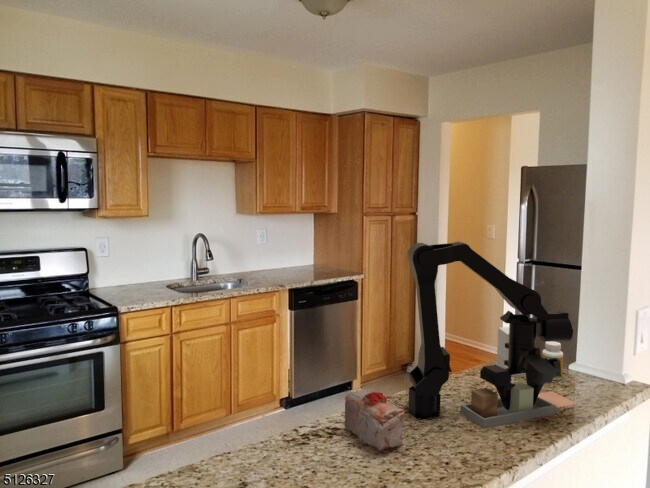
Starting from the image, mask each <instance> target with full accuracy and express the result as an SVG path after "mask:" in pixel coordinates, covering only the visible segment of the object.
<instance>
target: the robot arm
mask: <svg viewBox="0 0 650 488" xmlns="http://www.w3.org/2000/svg"><path fill="white" fill-rule="evenodd" d="M406 257H407V260H408V264H409V267H410V270H411V273H412V276H413V277H412V278H413V279H414V283H415V289H416V298H417V300H416V301H417V309H418V320H419V330H420V331H419V332H420V347H419V350H418V359H417V360H418V361H417V365H416V366H415V367H414V368H412V370H410V371H409V372H408V374H407V375H408V378H409V381H410V383H411V384H412V386H410V387H408V407H406V408H404V411H406V412H407V413H409V414H410V416H411V415H412V416H413V417H414V418H415V419H417V420H418V421H423V420H428V419H435V418H439V417H443V414H442V413H441V400H442V399H441V393H440V392H441V389H442V387H443V385H445V384H446V383H447V381H449V378H450V373H453V371H452V369H451V365H450V363H451V355H450V353H449V351H447V350H446V348H445V347H444V346H441V340H440V339H441V338H440V330H439V329H440V327H439V318H438V307H437V305H438V304H437V296H436V295H437V294H436V280H437V276H438V271H439V266H441V265H442V266H444V265H448V264H452V263H456V262H460V263H461V264H463V265H464V266H465V267H466V268H468V269H469V270H471V272H473V273H474V274H475V275H477V276H478V277H479V278H481V279H483V281H485V282H486V283H488V284H489V285H490V286H492V287H493V288H494V289H495V290H496V292H497V293H498V294H499V295H500V297H501V298H502V299H503V300H504V302H506V303H507V304H508V305H509V307H511V308H513V309H514V310H516V311H517V312H519V313H520V314H517V313H515V314H514V313H513V312H511V311H510V310H507V311H506V312H505V313H504V314H502V315H501V316H500V317H499V319H500V320H501V321H502V322H504V323H505V324H509V326H508V327H509V343H505V348H507V349H509V350H508V360H504V365H506V366H508V368H506V369H504V368H502V367H500V366H497V364H490V365H485V366H482V367H481V368H480V374H479V375H480V376H479V377H480V379H482V380H484V381H485V382H488V383H489V384H491V385H493V386H494V387H495V389H496V391H497V394H498V397H499V398H501V401H502V403H503V405H504V408H505V409H507V410H509V408H510V399H511V389H512V388H513V387H514V386H515V385H514V384H512V383H513V382H512V378H513V377H520V376H519V375H525V374H526V376H525V379H526V385H528V386H530V387H532V388H534V392H533V405H534V404H535V402H536V399H537V397H538V395H539V393H540V392H541V390H542V388H543V386H544V385H545V384H548V383H549V384H551V383H553V381H554V380H553V379H554V377H557V376H561V361H560V360H559V359H557V358H551V359H547V358H542V354H541V350H540V347H538V346H536V344H537V343H536V340H537V338H539V339H540V340H541V342H547V341H555V342H570V341H571V340H572V339H573V335H574V329H573V325H572V322H571V320H570V317H569V315H570V313H568V312H567V311H565V310H558V311H547V310H546V309H545V307H544V305H543V304H542V297H541V294H540V293H539V292H538V291H536V290H534V289H532V288H530V287H528V286H526V285H524V284H522V283H520V282H518V281H516V280H515V279H513V278H511V277H509V276H508V275H506V274H505V273H503V271H501V270H500V269H498V268H497V267H496V266H494V265H493V264H492V263H491V262H489V261H488V260H487V259H485V258H484V257H483V256H481V255H480V254H479V253H478V252H476V250H474V249H472V248H471V247H470V245H469V244H467V243H465V242H463V241H455V242H450V243H438V244H430V245H429V244H427V243H424V242H416V243H414V244H412V245H411V246H410V247H409V249H408V250H407V256H406ZM530 315H532V316H533V317H529V316H530Z"/></svg>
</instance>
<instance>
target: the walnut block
mask: <svg viewBox="0 0 650 488" xmlns="http://www.w3.org/2000/svg"><path fill="white" fill-rule="evenodd" d="M470 395H471V399H470V400H471V402H470V403H471V410H472V411H474V412H475V413H477V414H478V415H480V416H482V417H483V418H488V417H493V416H497V407H498V398H499V394H498V392H495V391H493V390H490V388H488V387H484V388H483V387H482V388H477V389H471V394H470Z"/></svg>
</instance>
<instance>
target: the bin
mask: <svg viewBox="0 0 650 488" xmlns="http://www.w3.org/2000/svg"><path fill="white" fill-rule="evenodd" d="M460 414H461V415H462V416H464V417H465V418H467V419H469V420H470V421H472V422H474V424H475V425H477V426H479V427H481V428H482V429H488V428H492V427H498V426H502V425H509V424H513V423H518V422H523V421H527V420H533V419H538V418H543V417H548V416H553V415H556V414H557V408H556V405H554V404H552V403H550V402H548V401H546V400H544V399H542V398H540V397H537V399H536V402H535V404H534V405H533V409H530V410H525V411H520V412H514V413H512V412H511V411H509V410H507V409H505V408H504V405H503V403H502V401H501V398H500V397H498V407H497V416H493V417H488V418H483V417H482V416H480V415H478V414H477V413H475V412H474V411H472V410H471V402H469V403H464V404H463V403H462V404H460Z"/></svg>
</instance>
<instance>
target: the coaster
mask: <svg viewBox="0 0 650 488" xmlns="http://www.w3.org/2000/svg"><path fill="white" fill-rule="evenodd" d="M538 397H540V398H542V399H544V400H546V401H548V402H550V403H552V404H554V405H556V409H557V408H562V407H567V406H573V405H577V404H578V403H577V402H575V401H573V400H570V398H566V397H565V396H562V395H560V394H558V393H556V392H554V391H545V392H541V393H539V395H538Z"/></svg>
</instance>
